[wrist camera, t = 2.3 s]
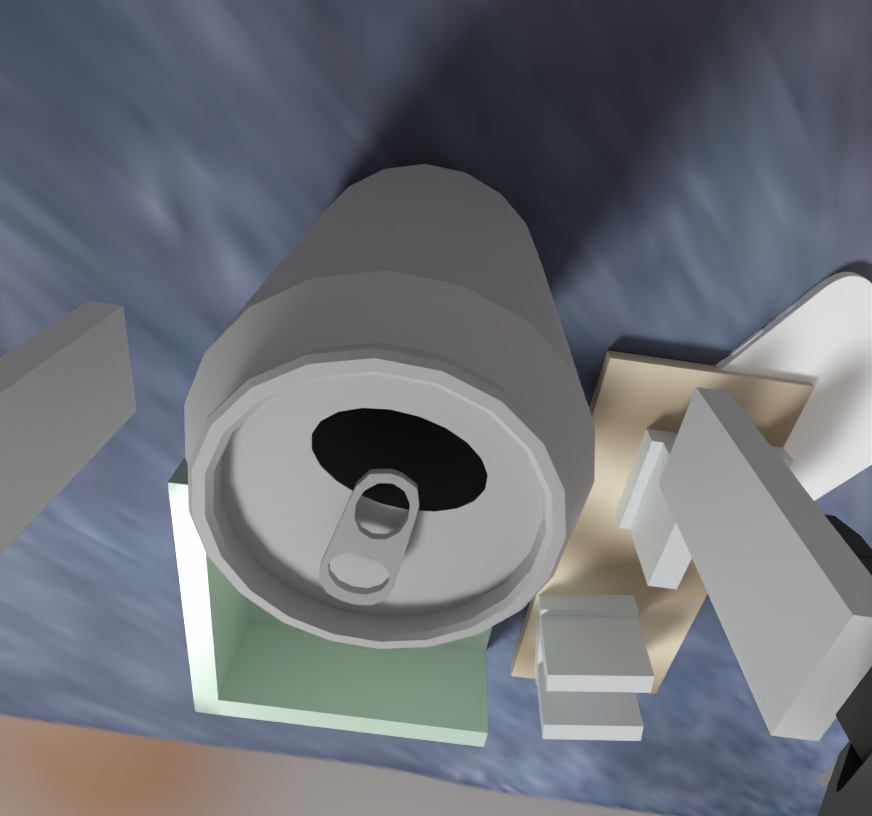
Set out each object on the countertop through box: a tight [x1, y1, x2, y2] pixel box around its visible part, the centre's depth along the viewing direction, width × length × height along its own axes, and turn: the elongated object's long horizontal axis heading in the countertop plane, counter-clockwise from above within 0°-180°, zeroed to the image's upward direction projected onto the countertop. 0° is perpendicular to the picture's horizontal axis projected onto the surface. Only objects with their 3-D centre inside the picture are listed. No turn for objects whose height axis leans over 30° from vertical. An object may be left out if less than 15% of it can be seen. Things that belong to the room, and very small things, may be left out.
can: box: [184, 164, 595, 649], centre depth 15 cm, size 8×8×12 cm
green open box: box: [168, 457, 492, 747], centre depth 24 cm, size 12×12×4 cm
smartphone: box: [715, 272, 872, 501], centre depth 23 cm, size 7×1×15 cm
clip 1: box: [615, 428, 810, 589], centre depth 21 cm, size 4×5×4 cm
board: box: [511, 350, 814, 694], centre depth 25 cm, size 17×7×1 cm, turn 173°
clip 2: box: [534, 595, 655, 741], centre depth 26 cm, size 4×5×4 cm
